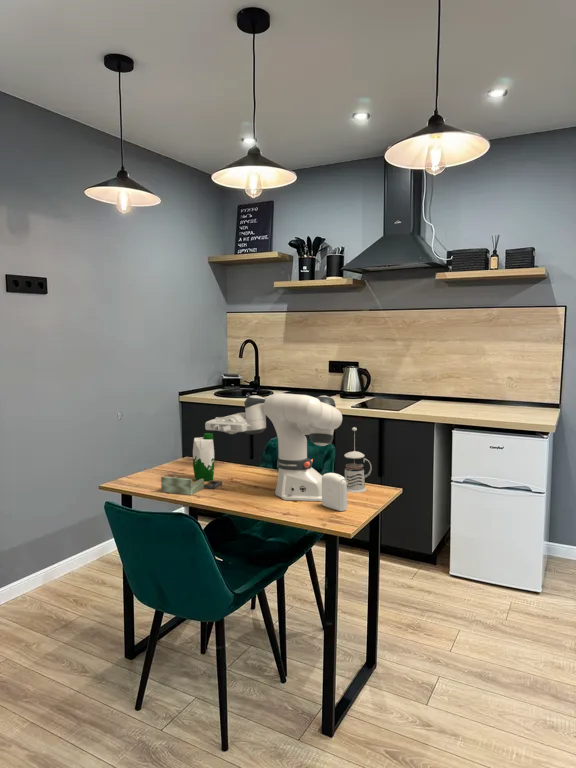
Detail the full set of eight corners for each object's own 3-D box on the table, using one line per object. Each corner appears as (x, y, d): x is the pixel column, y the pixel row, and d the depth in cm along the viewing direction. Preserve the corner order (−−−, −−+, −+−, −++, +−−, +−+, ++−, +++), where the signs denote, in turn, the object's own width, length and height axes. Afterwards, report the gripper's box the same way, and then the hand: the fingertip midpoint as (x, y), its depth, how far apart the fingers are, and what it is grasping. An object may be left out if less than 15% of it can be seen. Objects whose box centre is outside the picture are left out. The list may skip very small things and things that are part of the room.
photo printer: (320, 505, 190) (319, 471, 189) (328, 503, 193) (328, 470, 192) (340, 512, 182) (340, 477, 181) (349, 510, 185) (349, 475, 184)
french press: (341, 485, 216) (340, 425, 214) (369, 485, 216) (369, 425, 214) (343, 492, 206) (343, 429, 205) (373, 492, 206) (373, 429, 204)
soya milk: (215, 481, 224) (214, 435, 223) (193, 483, 223) (192, 436, 221) (214, 476, 233) (213, 431, 231) (193, 477, 231) (192, 432, 230)
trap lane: (222, 485, 219) (222, 470, 219) (201, 496, 203) (201, 481, 203) (174, 480, 227) (174, 466, 227) (151, 490, 211) (151, 476, 211)
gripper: (252, 431, 249) (239, 436, 236) (213, 429, 256) (199, 434, 243) (252, 418, 248) (239, 423, 236) (213, 417, 256) (199, 421, 243)
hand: (218, 428), depth 239 cm, fingers open, 2 cm apart
